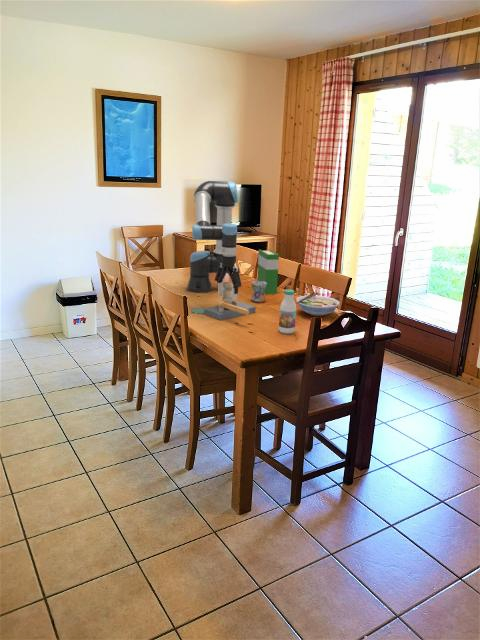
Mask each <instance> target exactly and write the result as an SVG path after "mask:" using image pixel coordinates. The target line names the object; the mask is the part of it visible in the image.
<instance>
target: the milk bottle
mask: <svg viewBox="0 0 480 640" xmlns="http://www.w3.org/2000/svg"><path fill="white" fill-rule="evenodd" d="M283 293H284V294H283V295H284V297H283V300H282V301H281V303H280V308H279V316H278V317H279V319H278V331H279V333H281V334H287V335H289V334H290V335H291V334H294V333H295V330H296V322H297V321H296V320H297V319H296V318H297V305H296V304H297V303H296V301H295V298H294V296H295V290H293V289H284V292H283Z"/></svg>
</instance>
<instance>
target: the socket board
mask: <svg viewBox="0 0 480 640" xmlns="http://www.w3.org/2000/svg"><path fill="white" fill-rule="evenodd" d="M235 302H236V306H238V307H241V308H244V309H247V310H249V315H250V314H254V313H256V311H257V310H256V306H254V305H251V304H248V303H245V302H242V301H235ZM205 314H206V315H205ZM203 315H205V316H208V317H210V316H211V318H213V317H214V318H213V319H215V318H216V320H218V319H219V320H218V321H225V320H228V318H229V319H233V318H237V317H242V316H246V315H245V314H242V313H239V312H236V311H233V310H230V309H228V310H225V309H224V307H218V305H217V306H212V307H211V306H210V307H205V309H204V314H203ZM224 319H225V320H224Z"/></svg>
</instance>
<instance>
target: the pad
mask: <svg viewBox="0 0 480 640" xmlns="http://www.w3.org/2000/svg"><path fill="white" fill-rule="evenodd" d="M205 308H206V307H205ZM205 308H204V307H196V308H192V309H191V311H190V312H191V313H192V312H193V314H195V313H197V315H205V314H204V309H205Z"/></svg>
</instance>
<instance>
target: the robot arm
mask: <svg viewBox="0 0 480 640" xmlns="http://www.w3.org/2000/svg"><path fill="white" fill-rule="evenodd" d="M193 201H194V203H195V224H193V225H192V227H191V228H192V232H191V233H192V236H191V237H192V239H193V240H197V241H198V240H199V241H216V243H215V248H214V250H213V252H212V253H211V252H210V251H209V250H199V251H195V252H192V253H191V254H190V257H189V258H190V259H189V264H190V265H189V267H190V268H189V279H188V282H187V285H186V290H187V291H188V292H192V293H208V292H211V291H212V290H213V286H212V282H211V279H210V274H216V275H215V277H214V281H216V282H217V296H223V283H224V282H223V281H224V279H225V277H226V275H227V274H228V276H229V277H230V280H231V283H233V288H232V301H236V300H238V294H239V288H241V287H242V282H241V276H240V267H239V266H238V267H236V266H235V264H236V263H237V256H236V255H237V241H238V239H237V238H238V225H237V224H236V223H232V221H233V219H232V217H233V209H234V207H236V204H237V203H238V201H239V200H238V188H237V184H236V183H235V182H234V181H226V180H225V181H224V180H222V181H221V180H220V181H219V180H207V181H204V182H202V183H200V185H199V186H198V187H196V189H195V191H194V193H193ZM211 203H214V206H215V207H216V210H217V211H216V213H217V214H216V224H215V225H214V224H213V225H212V224H211V211H210V210H211V209H210V204H211Z"/></svg>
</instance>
